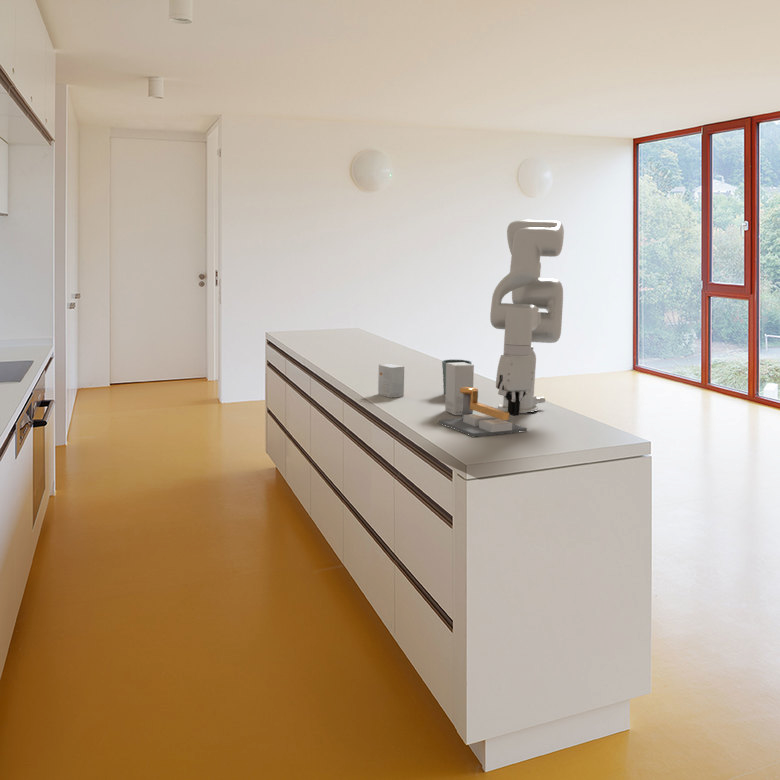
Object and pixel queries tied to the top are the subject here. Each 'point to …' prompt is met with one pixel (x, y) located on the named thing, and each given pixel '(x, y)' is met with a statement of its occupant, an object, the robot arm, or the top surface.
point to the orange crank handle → (481, 407)
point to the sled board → (474, 429)
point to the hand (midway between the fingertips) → (513, 414)
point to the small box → (391, 380)
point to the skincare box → (457, 385)
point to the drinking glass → (445, 370)
